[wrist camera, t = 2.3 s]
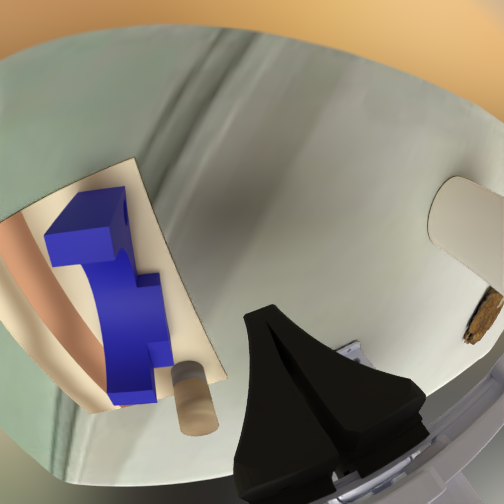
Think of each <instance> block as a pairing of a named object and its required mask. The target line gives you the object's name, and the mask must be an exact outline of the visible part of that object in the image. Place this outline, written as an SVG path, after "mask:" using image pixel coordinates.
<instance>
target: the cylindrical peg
mask: <svg viewBox="0 0 504 504" xmlns="http://www.w3.org/2000/svg"><path fill="white" fill-rule="evenodd" d="M171 377H172V384H173V390H174V397H175V403H176V408H177V414H178V419H179V425H180V430H181V432H182V433H183V434H185V435H188V436H203V435H207V434H210V433H212V432H214V431H216V430H217V429H218V427H219V423H218V420H217V416H216V413H215V409H214V406H213V402H212V398H211V395H210V391H209V387H208V383H207V379H206V375H205V371H204V367H203V366H202V365H201V364H200V363H199V362H196V361H190V360H188V361H182V362H179V363H177V364H175V365H174V366H173V367H172V369H171Z"/></svg>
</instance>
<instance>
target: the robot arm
mask: <svg viewBox="0 0 504 504" xmlns="http://www.w3.org/2000/svg"><path fill="white" fill-rule="evenodd" d="M243 318H244V321H245V324H246V328H247V333H248V340H249V354H250V375H249V390H248V399H247V406H246V413H245V418H244V423H243V427H242V432H241V436H240V440H239V443H238V446H237V450H236V453H235V456H234V467H233V476H234V477H233V478H234V485H235V488H236V491H237V494H238V497H239V498H240V499H243V500H245V501H247V502H249V504H323V503H326V502H328V503H329V504H483V503H482V501H481V500H480V498H479V497H478V495H477V494H476V492H475V491H474V489H473V488H472V486H471V485H470V483H469V482H468V480H467V479H466V478H465V476H464V475H463V473H462V472H461V470H462V469H463V468H464V467H465V466H466V465H467V464H468V463H469V462H470V461H471V460H472V459H473V458H474V457H475V456H476V455H477V454H478V453H479V452H480V451H481V450H482V449H483V448H484V447H485V446H486V445H487V444H488V442H489V441H490V440H491V439H492V438H493V437H494V436H495V434H496V433H497V432H498V431H499V429H501V427H502V426H503V425H504V354H503V355H502V356H501V357H500V358H499V359H498V360H497V362H496V363H495V364H494V365H493V367H492V368H491V370H490V372H489V373H488V374H487V375H486V376H485V377H484V378H483V379H482V380H481V381H480V382H479V383H478V384H477V385H476V386H475V387H474V388H473V389H472V390H471V391H470V392H469V393H467V394H466V395H465V396H464V397H463V398H462V399H461V400H459V401H458V402H457V403H456V404H455V405H454V406H453V407H451V408H450V409H449V410H448V411H446V412H445V413H444V414H443V415H441V416H440V417H439V418H438V419H436V420H435V421H434V422H432V423H431V424H430V425H429V426H427V427H425V426H424V425H423V423H422V422H421V421H422V417H421V415H420V414H419V413H418V412H419V410H420V409H421V407H422V405H423V404H424V402H425V400H426V395H425V394H424V392H423V391H422V390H421V389H420V388H419V387H418V386H417V385H416V384H415V383H414V382H413V381H412V380H411V379H408V378H404V377H400V376H396V375H392V374H389V373H385V372H382V371H379V370H376V368H375V367H374V366H373V365H372V363H371V362H370V361H369V359H368V358H367V357H366V355H365V354H364V353H363V351H362V350H361V349H360V343H359V342H354V343H352V344H350V345H348V346H346V347H344V348H342V349H340V350H338V351H334V350H332V349H331V348H329V347H327V346H326V345H324V344H322V343H321V342H319V341H318V340H316V339H315V338H313V337H312V336H311V335H309V334H308V333H306V332H305V331H304V330H303V329H301V328H300V327H299V326H297V325H296V324H295V323H294V322H292V321H291V320H290V319H289V318H288V317H287V316H286V315H285V314H283V313H282V312H281V311H280V310H279V309H278V308H277V307H276V305H274V304H271V305H269V306H266V307H263V308H261V309H258V310H255V311H253V312H250V313H247V314H245V315H244V317H243ZM431 441H432V443H431V445H430V446H429V447H428V448H426V449H425V450H424V451H422V452H421V453H420V451H419V450H420V449H421V448H423V447H424V446H425V445H427V444H428V443H430V442H431ZM398 473H399V474H398ZM397 474H398V475H397ZM395 475H396V476H395ZM392 477H393V478H392ZM390 478H391V479H390ZM389 479H390V480H389ZM387 480H388V481H387ZM384 482H385V483H384ZM382 483H383V484H382ZM379 485H380V486H379ZM377 486H378V487H377ZM375 487H376V488H375ZM372 489H373V490H372ZM370 490H371V491H370ZM368 491H369V492H368ZM366 492H367V493H366ZM363 494H364V495H363Z"/></svg>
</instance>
